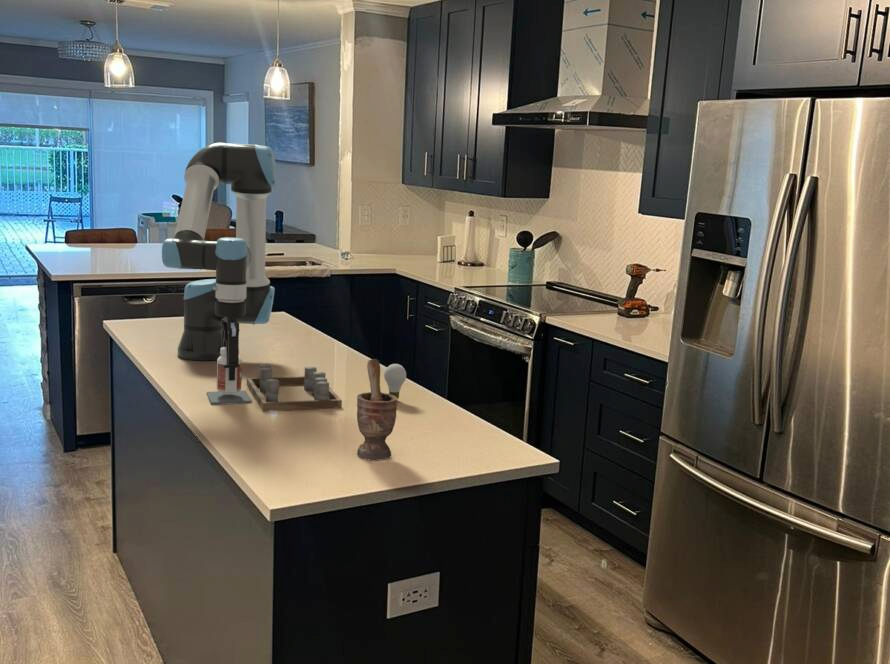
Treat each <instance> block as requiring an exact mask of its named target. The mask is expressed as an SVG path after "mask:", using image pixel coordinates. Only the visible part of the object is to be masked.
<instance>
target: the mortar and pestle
mask: <svg viewBox="0 0 890 664" xmlns="http://www.w3.org/2000/svg"><path fill="white" fill-rule="evenodd" d="M380 363H381V362H380V360H379V359H377V358H372V359H369V360H368V361H367V364H366V365H367V366H366V367H367V375H368V380H369V387H370V391H369V392H363V393H359V394H357V397H356V407H357V408H356V409H357V410H356V421H357V422H356V423H357V426H358V431H359V432H360V434H361V435H362V436H363V437H364V441H363V443H361V444H360V445H359V447H358V449H357V451H356V452H357V453H356V455H357V456H358V457H360V458H363V459H365V458H366V460H368V459H370V460H369V461H371V460H376V461H380V460H386V459H389V458H391V457H392V451H391V448H390V446H389V445H388V444H387V442H386V440H387V438H388V437H389V436H390V435H391V434H392V432H393V431H394V428H395V424H396V420H397V409H398V399H397V397H396V396H394V395H391V394H389V393H384V392H381V364H380ZM390 456H391V457H390Z"/></svg>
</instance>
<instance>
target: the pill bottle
mask: <svg viewBox="0 0 890 664" xmlns="http://www.w3.org/2000/svg"><path fill="white" fill-rule="evenodd" d="M220 354H221V356H220V357H219V358H218V359H217V360H216V390H217V391H219V392H223V393H226V392H225V379H226V368H224V365H227V355H226V347H222V348H220ZM238 364H239V366H238V367H237V392H239V391H242V379H243V378H242V377H243V375H242V370H243V368H242V367H243V360H242V358H241V357H240V356H239V355H238ZM232 393H235V392H232Z"/></svg>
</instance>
